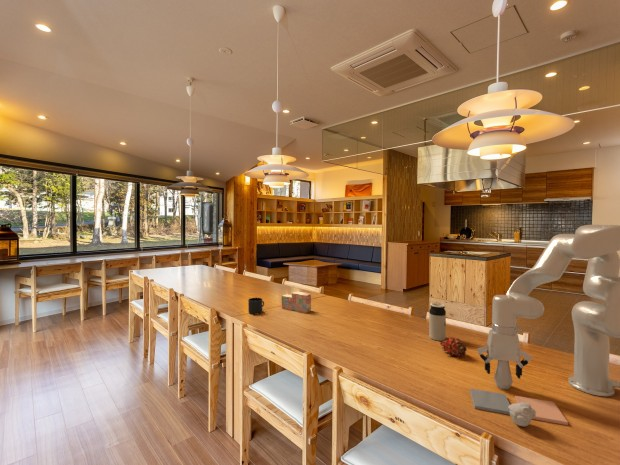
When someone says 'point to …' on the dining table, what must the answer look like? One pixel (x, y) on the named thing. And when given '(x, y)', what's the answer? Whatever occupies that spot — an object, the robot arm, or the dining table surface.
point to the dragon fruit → (454, 346)
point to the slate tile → (490, 401)
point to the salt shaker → (503, 375)
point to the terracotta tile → (544, 410)
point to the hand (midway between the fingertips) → (502, 374)
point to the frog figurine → (521, 413)
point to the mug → (255, 305)
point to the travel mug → (437, 322)
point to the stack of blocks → (297, 302)
